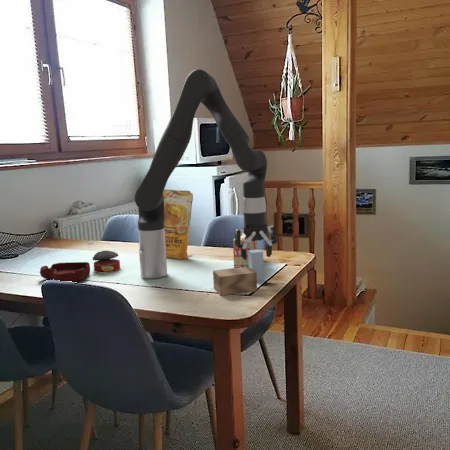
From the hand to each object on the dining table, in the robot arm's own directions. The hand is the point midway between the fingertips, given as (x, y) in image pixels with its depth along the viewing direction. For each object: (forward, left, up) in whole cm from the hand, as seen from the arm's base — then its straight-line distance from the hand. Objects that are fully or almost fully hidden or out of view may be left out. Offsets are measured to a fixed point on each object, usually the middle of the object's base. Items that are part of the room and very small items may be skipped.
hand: (256, 257), depth 166 cm
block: (0, 0, -8) cm, 8 cm away
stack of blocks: (+3, +20, -8) cm, 22 cm away
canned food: (-48, +37, -8) cm, 61 cm away
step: (-10, -8, -8) cm, 15 cm away
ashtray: (-62, +28, -8) cm, 68 cm away
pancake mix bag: (-20, +47, -8) cm, 52 cm away
